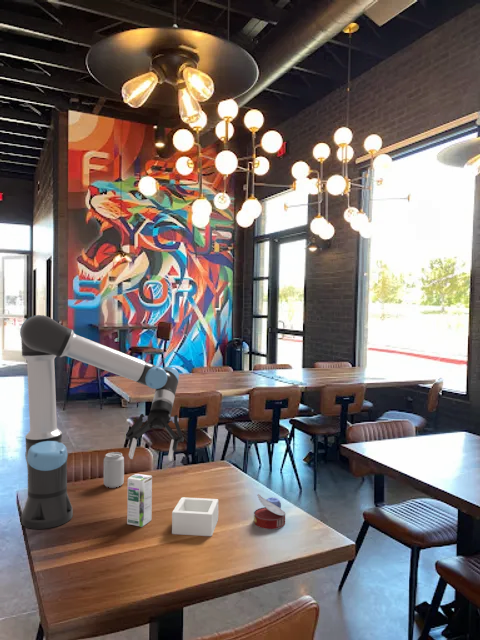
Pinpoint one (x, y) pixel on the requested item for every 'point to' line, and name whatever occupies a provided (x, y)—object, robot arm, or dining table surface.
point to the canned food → (269, 515)
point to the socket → (195, 516)
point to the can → (113, 470)
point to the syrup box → (139, 500)
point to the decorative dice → (275, 501)
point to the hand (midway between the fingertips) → (150, 458)
